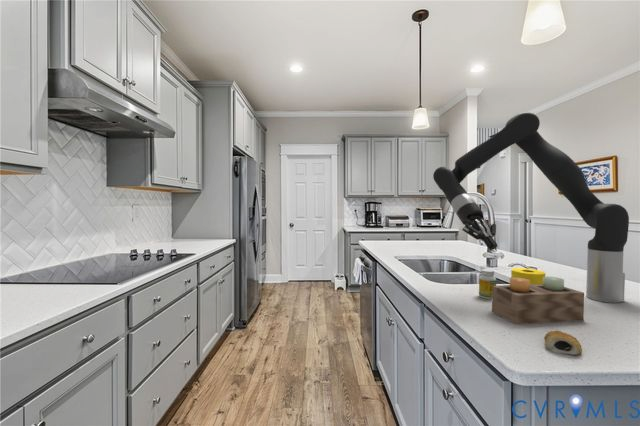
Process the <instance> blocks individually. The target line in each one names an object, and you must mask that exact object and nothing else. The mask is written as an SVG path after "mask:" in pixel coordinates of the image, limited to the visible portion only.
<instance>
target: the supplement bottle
mask: <svg viewBox="0 0 640 426" xmlns="http://www.w3.org/2000/svg"><path fill="white" fill-rule="evenodd" d="M494 275H495V270H493V269H488V268H487V269H486V268H485V269H484V268H483V269H481V275H480V276H479V277H478V285H479V286H478V296H479V297H480V298H481V299H486V300H492V286H497V277H496V276H494Z"/></svg>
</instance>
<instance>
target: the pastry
mask: <svg viewBox="0 0 640 426" xmlns="http://www.w3.org/2000/svg"><path fill="white" fill-rule="evenodd" d="M543 339H544V342H545V344H544V346H545V348H546V349H547V350H548V351H552V352H554V353H558V354H564V355H570V356H578V355H580V354H582V352H583V348H582V345H581V343H580V341H579V340H578V339H577V337H575V336H573V335H571V334H570V333H568V332H563V331H561V330H550V331H547V333H546V334H545V336H544V337H543Z"/></svg>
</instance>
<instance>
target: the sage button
mask: <svg viewBox="0 0 640 426" xmlns="http://www.w3.org/2000/svg"><path fill="white" fill-rule="evenodd" d="M564 287H565V278H564V279H563V278H561V277H555V276H545V277H543V288H545V289H548V290H554V291H563V290H564Z"/></svg>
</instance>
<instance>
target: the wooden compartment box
mask: <svg viewBox="0 0 640 426" xmlns="http://www.w3.org/2000/svg"><path fill="white" fill-rule="evenodd" d="M584 311H585V293H584V292H582V291H579V290H576V289H573V288H569V287H565V286H564V290H563V291H554V290H548V289H545V288H543V284H532V285H530V292H517V291H513V290H511V289H510V284H508V285H507V284H506V285H496V286H492V299H491V313H494V314H496V315H498V316H500V317H501V318H504V319H505V320H507V321H509V322H511V323H513V324H516V325H524V324H525V325H526V324H544V323H545V324H546V323H547V324H548V323H563V322H564V323H565V322H566V323H567V322H581V321H582V322H583V321H585V320H584V319H585V318H584V316H585V313H584Z"/></svg>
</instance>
